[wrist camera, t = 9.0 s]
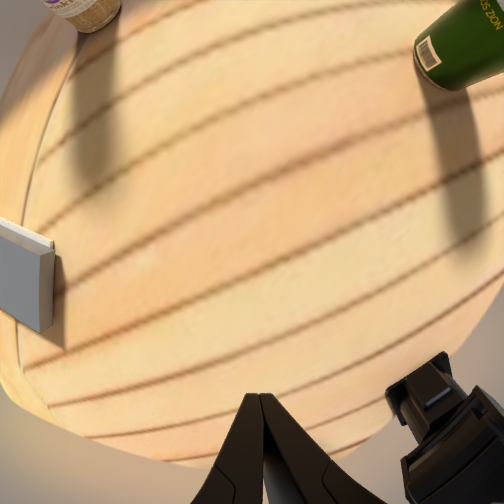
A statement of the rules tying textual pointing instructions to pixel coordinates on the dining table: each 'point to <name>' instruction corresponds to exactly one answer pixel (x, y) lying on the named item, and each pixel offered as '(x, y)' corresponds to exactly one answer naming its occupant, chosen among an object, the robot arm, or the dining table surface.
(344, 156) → the dining table surface
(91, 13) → the sprinkles bottle
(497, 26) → the beer can
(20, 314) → the slate tile
